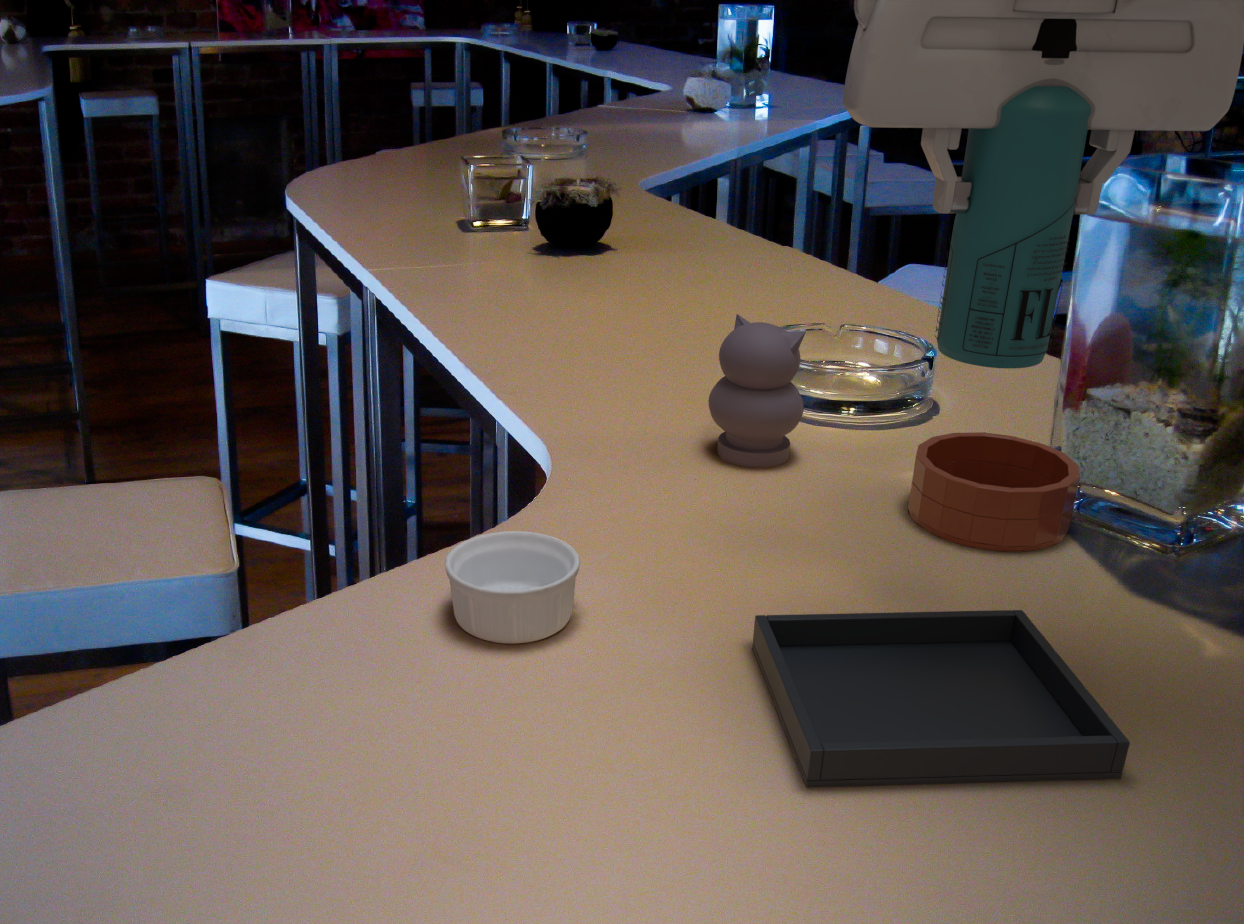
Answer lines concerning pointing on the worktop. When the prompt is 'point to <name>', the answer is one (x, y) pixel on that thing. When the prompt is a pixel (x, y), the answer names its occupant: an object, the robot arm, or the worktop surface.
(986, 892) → the worktop surface
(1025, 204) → the beverage bottle
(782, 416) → the cat figurine
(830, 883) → the worktop surface
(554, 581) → the ramekin
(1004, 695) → the tray
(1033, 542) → the bowl
